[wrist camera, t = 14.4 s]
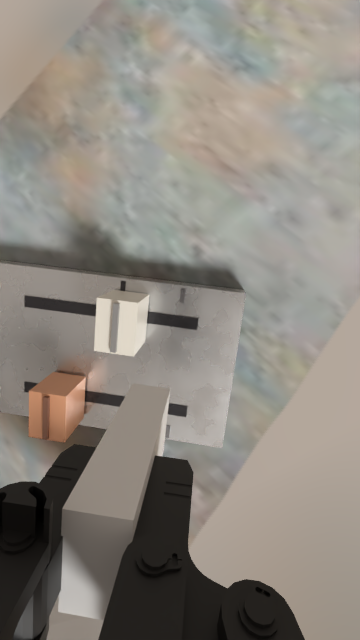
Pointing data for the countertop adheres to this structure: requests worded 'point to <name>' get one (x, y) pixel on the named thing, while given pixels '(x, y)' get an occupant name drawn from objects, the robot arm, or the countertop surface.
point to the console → (113, 369)
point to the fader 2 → (121, 322)
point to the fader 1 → (56, 406)
